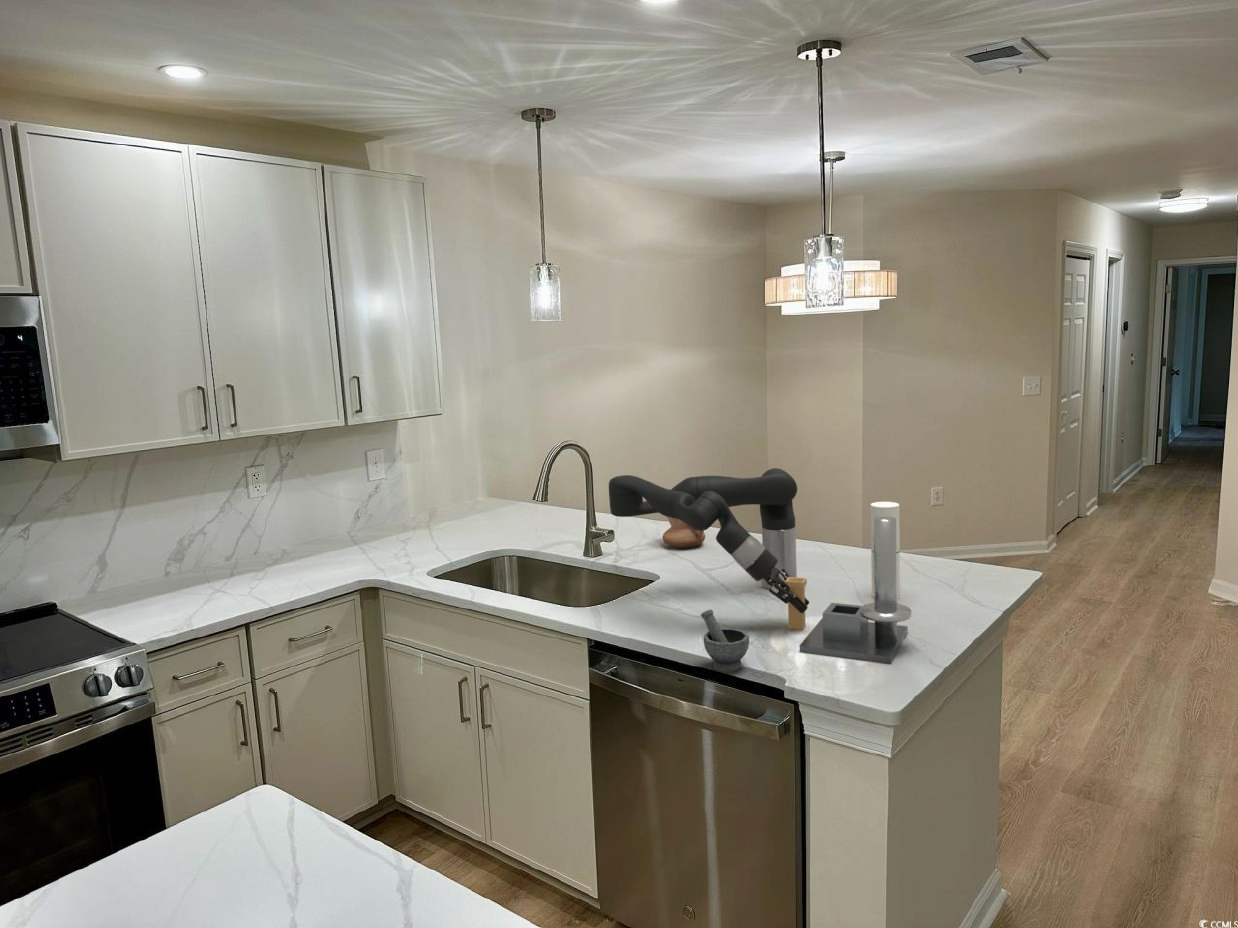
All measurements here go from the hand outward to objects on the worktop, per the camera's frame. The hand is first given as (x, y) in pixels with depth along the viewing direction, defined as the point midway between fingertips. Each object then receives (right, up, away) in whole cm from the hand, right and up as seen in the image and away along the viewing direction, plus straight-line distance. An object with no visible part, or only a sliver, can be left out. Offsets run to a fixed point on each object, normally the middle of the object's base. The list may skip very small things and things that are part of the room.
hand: (805, 607), depth 207 cm
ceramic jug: (-23, +7, +84) cm, 87 cm away
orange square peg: (-2, -5, +2) cm, 5 cm away
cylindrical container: (+26, -1, +20) cm, 33 cm away
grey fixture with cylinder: (+10, -6, -11) cm, 16 cm away
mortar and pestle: (-22, -10, -19) cm, 30 cm away
